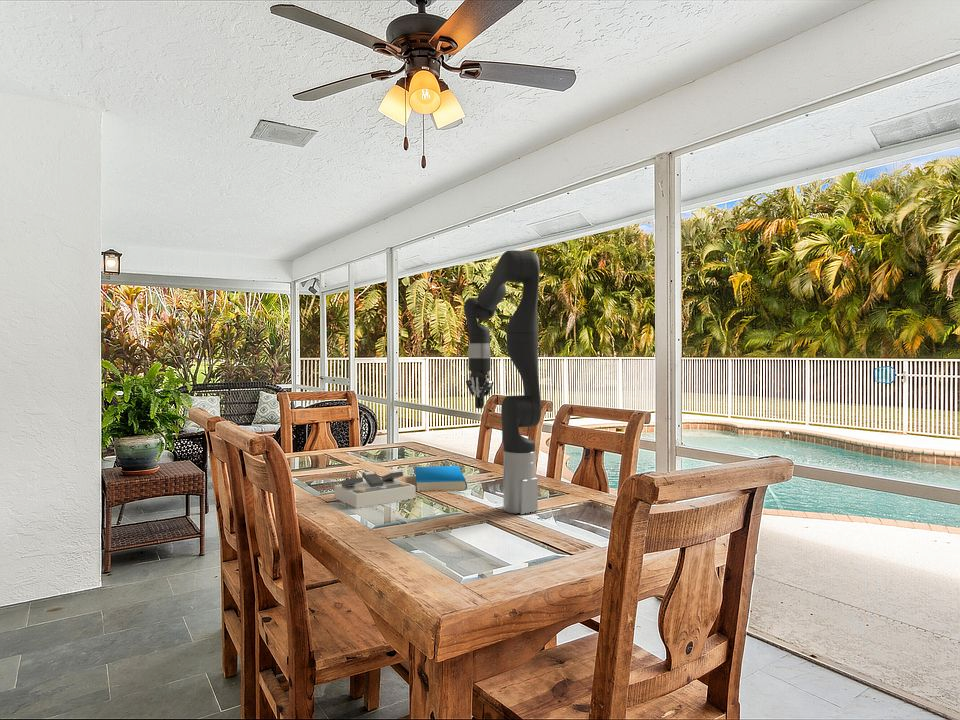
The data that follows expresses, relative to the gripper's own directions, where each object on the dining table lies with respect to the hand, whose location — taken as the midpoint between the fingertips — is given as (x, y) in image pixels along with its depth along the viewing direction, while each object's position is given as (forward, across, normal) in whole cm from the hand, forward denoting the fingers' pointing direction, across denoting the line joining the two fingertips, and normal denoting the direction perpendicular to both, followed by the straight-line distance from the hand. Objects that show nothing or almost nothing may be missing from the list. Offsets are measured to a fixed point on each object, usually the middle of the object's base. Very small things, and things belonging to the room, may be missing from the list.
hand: (479, 408), depth 201 cm
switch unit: (+27, +8, +35) cm, 45 cm away
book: (+28, +15, +6) cm, 32 cm away
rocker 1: (+21, +10, +42) cm, 48 cm away
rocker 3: (+21, +10, +28) cm, 36 cm away
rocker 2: (+21, +10, +35) cm, 42 cm away
